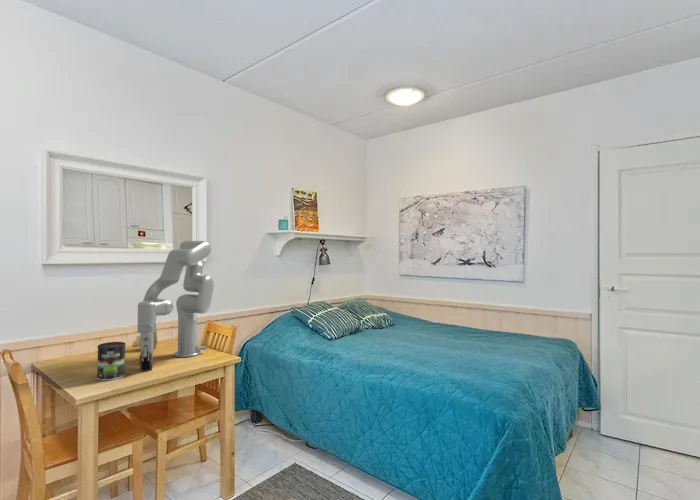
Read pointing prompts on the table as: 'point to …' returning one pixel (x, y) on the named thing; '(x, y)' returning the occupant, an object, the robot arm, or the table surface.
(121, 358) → the coffee can
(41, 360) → the table surface
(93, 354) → the table surface
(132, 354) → the table surface
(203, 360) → the table surface
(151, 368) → the walnut block
